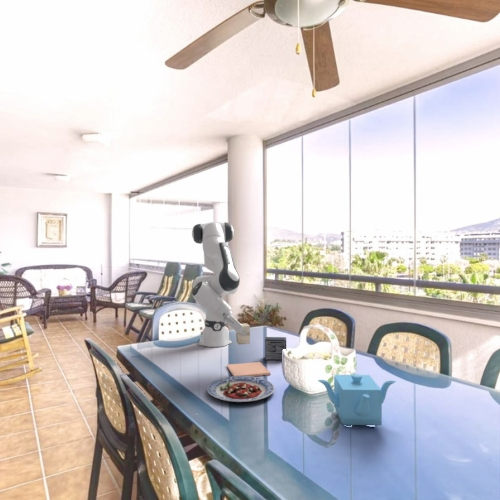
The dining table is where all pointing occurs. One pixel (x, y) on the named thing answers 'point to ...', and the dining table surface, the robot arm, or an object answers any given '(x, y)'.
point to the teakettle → (357, 399)
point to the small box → (274, 348)
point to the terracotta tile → (248, 369)
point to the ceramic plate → (241, 388)
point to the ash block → (243, 339)
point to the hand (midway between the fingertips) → (243, 332)
